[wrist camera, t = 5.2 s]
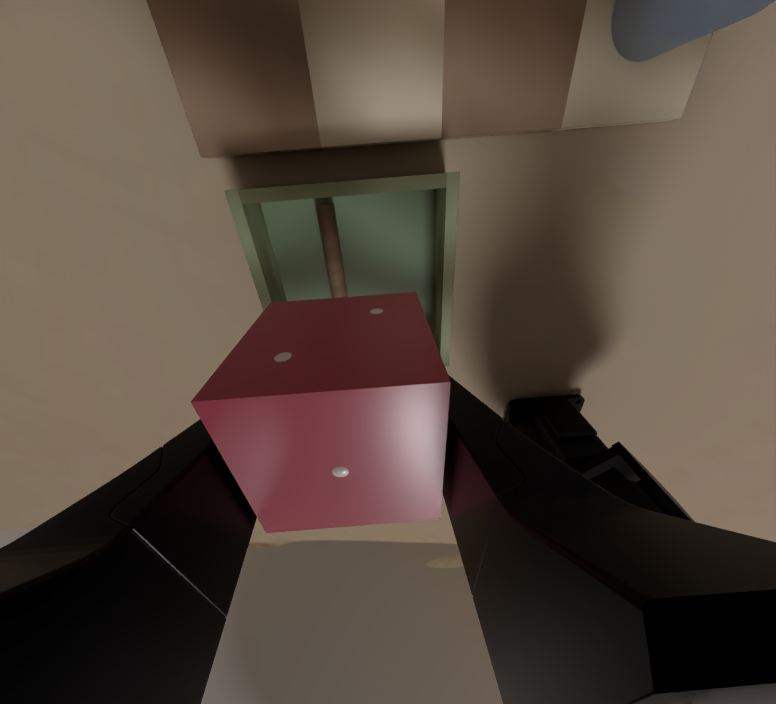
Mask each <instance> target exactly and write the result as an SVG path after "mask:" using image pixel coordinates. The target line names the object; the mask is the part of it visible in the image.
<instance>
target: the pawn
mask: <svg viewBox="0 0 776 704" xmlns="http://www.w3.org/2000/svg"><path fill="white" fill-rule="evenodd" d="M773 1H775V0H615V4H614V8H613V13H612V21H611V31H612V38H613V43H614V45H615V48H616V50H617V51H618V53H619V54H620V55H621V56H622V57H623V58H625V59H626V60H629V61H633V62H641V61H646V60H649V59H651V58H654V57H656V56H658V55H661V54H663V53H665V52H668V51H670V50H672V49H675V48H677V47H679V46H682V45H684V44H686V43H689V42H691V41H693V40H696V39H698V38H700V37H703V36H705V35H707V34H709V33H712V32H714V31H716V30H719V29H721V28H723V27H726V26H728V25H730V24H733V23H735V22H737V21H740V20H742V19H744V18H747V17H749V16H751V15H753V14H755V13H757V12H759V11H761V10H762V9H764V8H765V7H767V6H768V5H769V4H771V3H772V2H773Z"/></svg>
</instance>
